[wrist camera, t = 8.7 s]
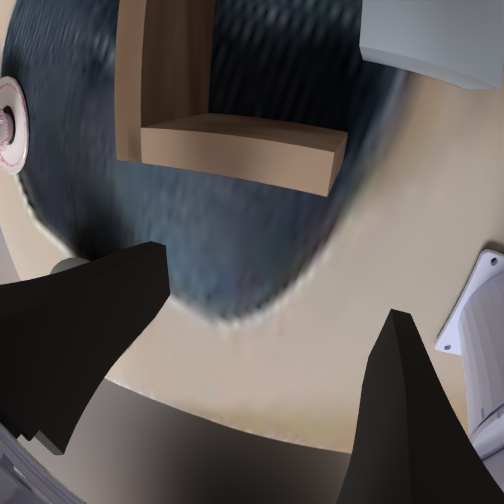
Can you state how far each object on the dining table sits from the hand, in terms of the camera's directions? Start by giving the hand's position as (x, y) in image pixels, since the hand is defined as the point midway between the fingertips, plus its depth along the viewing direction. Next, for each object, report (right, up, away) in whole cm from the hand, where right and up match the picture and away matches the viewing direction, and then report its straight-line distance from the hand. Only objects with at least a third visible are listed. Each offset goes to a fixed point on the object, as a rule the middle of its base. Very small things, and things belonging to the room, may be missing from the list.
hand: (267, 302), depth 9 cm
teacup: (-28, +16, +15) cm, 36 cm away
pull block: (+11, +12, 0) cm, 16 cm away
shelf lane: (+1, +15, +3) cm, 15 cm away
